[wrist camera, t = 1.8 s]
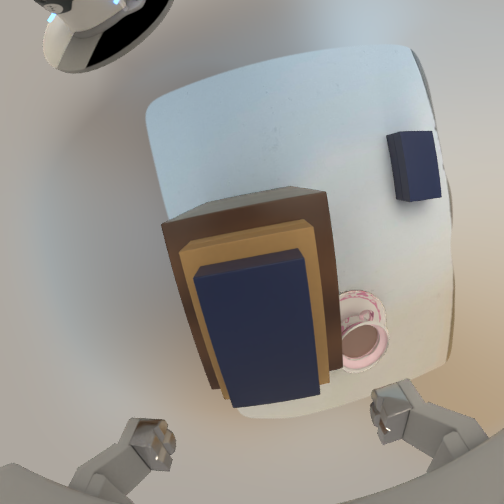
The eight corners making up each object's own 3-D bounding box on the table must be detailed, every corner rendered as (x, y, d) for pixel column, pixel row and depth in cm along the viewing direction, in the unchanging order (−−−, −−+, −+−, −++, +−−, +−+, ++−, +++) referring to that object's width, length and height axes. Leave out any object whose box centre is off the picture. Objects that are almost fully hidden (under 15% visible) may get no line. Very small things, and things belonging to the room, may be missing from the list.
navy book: (199, 266, 16) (192, 277, 14) (298, 247, 15) (304, 257, 13) (235, 388, 18) (233, 408, 16) (314, 375, 17) (320, 394, 15)
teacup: (370, 359, 41) (383, 382, 35) (302, 355, 41) (308, 380, 35) (394, 294, 38) (413, 311, 32) (322, 284, 38) (334, 302, 32)
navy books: (386, 135, 33) (399, 131, 29) (417, 134, 32) (432, 130, 29) (396, 199, 35) (410, 202, 31) (426, 194, 35) (441, 197, 31)
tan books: (190, 240, 18) (178, 252, 15) (304, 218, 18) (313, 226, 15) (227, 374, 21) (224, 399, 18) (321, 359, 20) (329, 382, 18)
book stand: (205, 202, 35) (160, 224, 18) (290, 185, 35) (326, 191, 17) (228, 302, 39) (211, 389, 21) (307, 288, 38) (343, 368, 21)
